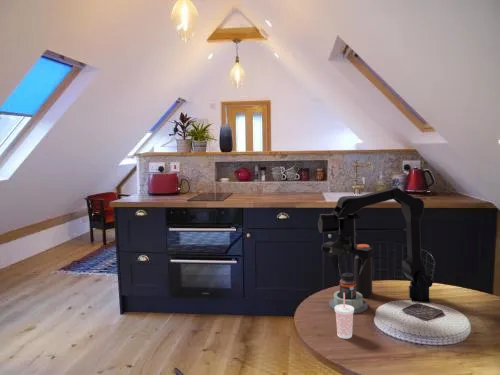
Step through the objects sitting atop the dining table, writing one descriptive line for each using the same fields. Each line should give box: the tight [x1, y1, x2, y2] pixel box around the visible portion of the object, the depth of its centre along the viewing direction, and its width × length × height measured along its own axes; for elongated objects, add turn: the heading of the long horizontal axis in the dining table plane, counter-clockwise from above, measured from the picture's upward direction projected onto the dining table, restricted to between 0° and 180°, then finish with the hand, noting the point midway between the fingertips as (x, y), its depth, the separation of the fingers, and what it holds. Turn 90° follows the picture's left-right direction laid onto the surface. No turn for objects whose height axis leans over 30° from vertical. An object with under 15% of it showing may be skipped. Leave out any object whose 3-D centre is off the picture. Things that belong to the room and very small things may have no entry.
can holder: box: [328, 290, 368, 315], centre depth 148 cm, size 14×14×4 cm
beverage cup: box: [334, 293, 354, 339], centre depth 125 cm, size 6×6×14 cm
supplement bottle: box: [339, 272, 356, 300], centre depth 147 cm, size 6×6×11 cm
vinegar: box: [353, 243, 373, 298], centre depth 157 cm, size 7×7×20 cm
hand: (347, 272), depth 147 cm, fingers open, 9 cm apart
